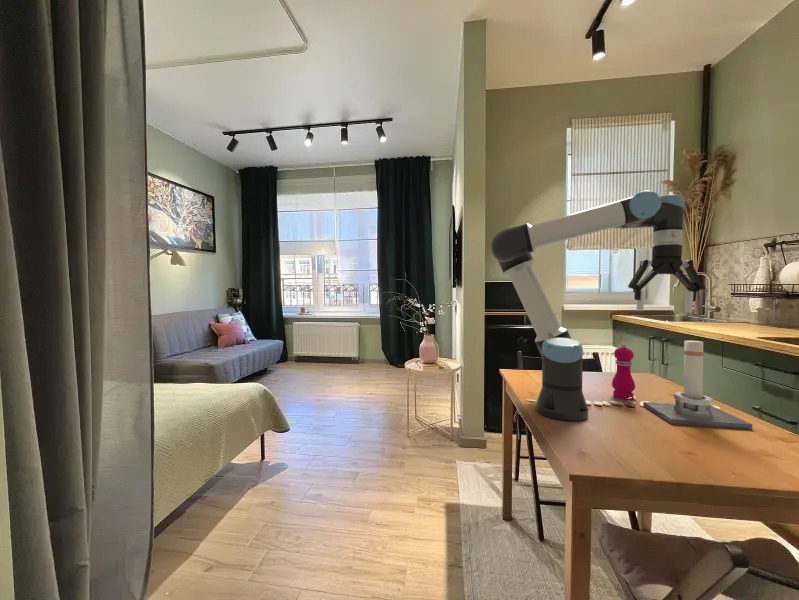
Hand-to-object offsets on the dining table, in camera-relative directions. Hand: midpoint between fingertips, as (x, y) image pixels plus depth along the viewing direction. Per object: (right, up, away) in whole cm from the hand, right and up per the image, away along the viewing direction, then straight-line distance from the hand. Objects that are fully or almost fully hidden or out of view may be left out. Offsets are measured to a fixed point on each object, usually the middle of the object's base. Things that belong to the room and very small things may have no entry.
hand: (663, 311), depth 108 cm
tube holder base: (+6, -33, -3) cm, 33 cm away
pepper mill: (-2, -33, +17) cm, 37 cm away
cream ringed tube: (+6, -31, -4) cm, 32 cm away
